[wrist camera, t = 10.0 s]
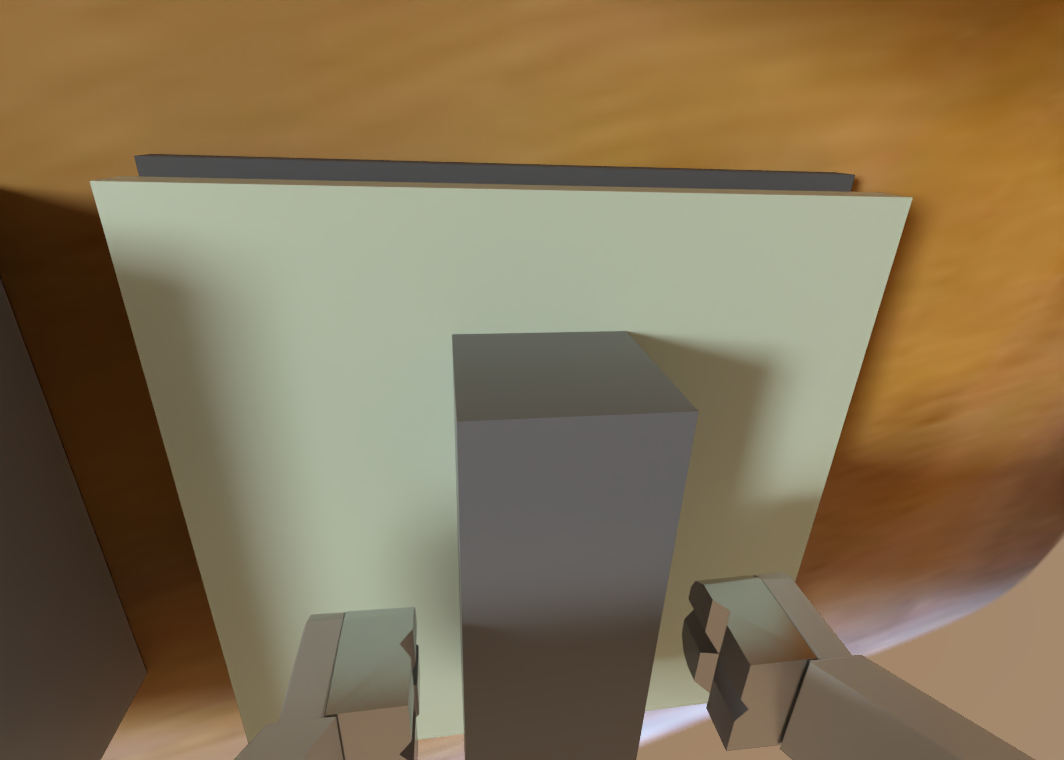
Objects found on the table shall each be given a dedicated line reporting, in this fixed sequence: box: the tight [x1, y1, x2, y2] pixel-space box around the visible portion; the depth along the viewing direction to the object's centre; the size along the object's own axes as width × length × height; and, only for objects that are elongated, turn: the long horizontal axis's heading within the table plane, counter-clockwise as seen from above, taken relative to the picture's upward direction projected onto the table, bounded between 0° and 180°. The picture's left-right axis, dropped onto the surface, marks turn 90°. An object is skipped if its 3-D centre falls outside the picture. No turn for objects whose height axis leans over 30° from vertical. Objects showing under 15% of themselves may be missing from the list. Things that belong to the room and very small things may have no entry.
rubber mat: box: [134, 154, 855, 192], centre depth 13 cm, size 13×13×1 cm
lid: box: [90, 176, 913, 760], centre depth 10 cm, size 13×13×5 cm
